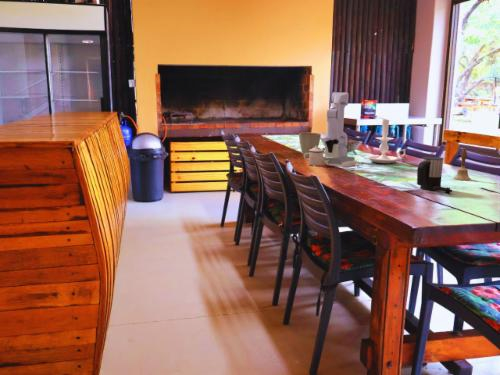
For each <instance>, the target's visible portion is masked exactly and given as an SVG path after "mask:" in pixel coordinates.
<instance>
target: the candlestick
mask: <svg viewBox="0 0 500 375" xmlns="http://www.w3.org/2000/svg"><path fill="white" fill-rule="evenodd" d="M389 124H390V120H389V119H388V118H382V126H381V130H382V132H381V133H382V137H381V136H378V137H375V139H376V140H379V141H381V143H380V145H379V146H378V147H379V152H381V155H369V156H366V159H368V160H370V161H371V162H374V163H377V164H393V163H396V162H397V161H400V160H403V157H405V155H406V150H407V149H399V150H398V152H397V155H398V156H393V155H386V154H387V152H388V150H390V149H389V143H388V142H389V141H391V140H394V139H395V138H393V137H388V136H389V126H390V125H389ZM400 152H403V154H402V155H400V154H401V153H400Z"/></svg>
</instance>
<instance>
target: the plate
mask: <svg viewBox="0 0 500 375" xmlns="http://www.w3.org/2000/svg"><path fill="white" fill-rule="evenodd" d="M324 144H325V146H324V147H325V148H324V157H326V158H338V145H339V144H334V145H333V150H332V153H329V152H328V148H327V145H326V143H325V142H324Z"/></svg>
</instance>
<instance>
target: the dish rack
mask: <svg viewBox="0 0 500 375" xmlns="http://www.w3.org/2000/svg"><path fill="white" fill-rule="evenodd" d="M355 158H356V156H355V157H354V156H349V155H347V156H341V157H339V156H338V158H332V157H328V160H326V161H325V165H327V166H331V167H333V166H334V167H339V168H346V167H351V165H352V166H356V165H355V164H357V162H358V161H357V160H356V159H355Z"/></svg>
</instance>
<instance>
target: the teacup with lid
mask: <svg viewBox="0 0 500 375" xmlns="http://www.w3.org/2000/svg"><path fill="white" fill-rule="evenodd" d="M324 153H325V149H322V148H320V147H319V146H315V148H312V149H310V150H309V153H305V154H304V156H303V158H304V160H305V161H306V162H308V164H309V166H311V167H312V166H313V167H314V166H315V167H320V166H321V167H322V166H323V165H324ZM306 154H309V158H308V159H307V158H306V157H305V155H306Z"/></svg>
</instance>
